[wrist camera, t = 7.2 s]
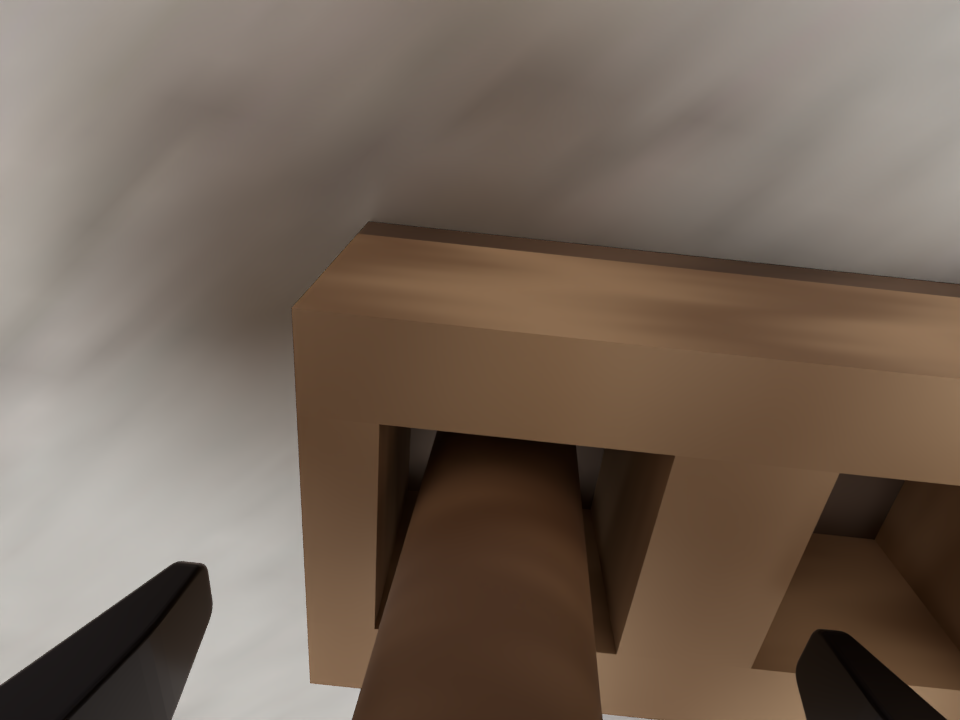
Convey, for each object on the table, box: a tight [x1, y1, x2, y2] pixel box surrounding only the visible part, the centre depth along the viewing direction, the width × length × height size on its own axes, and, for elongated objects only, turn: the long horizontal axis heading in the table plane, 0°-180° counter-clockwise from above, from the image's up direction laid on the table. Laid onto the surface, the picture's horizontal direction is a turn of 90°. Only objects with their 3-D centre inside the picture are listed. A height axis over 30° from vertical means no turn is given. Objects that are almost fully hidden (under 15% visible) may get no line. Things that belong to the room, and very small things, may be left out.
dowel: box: [352, 430, 603, 720], centre depth 10 cm, size 3×3×9 cm
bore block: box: [292, 222, 960, 720], centre depth 12 cm, size 14×8×5 cm, turn 85°
